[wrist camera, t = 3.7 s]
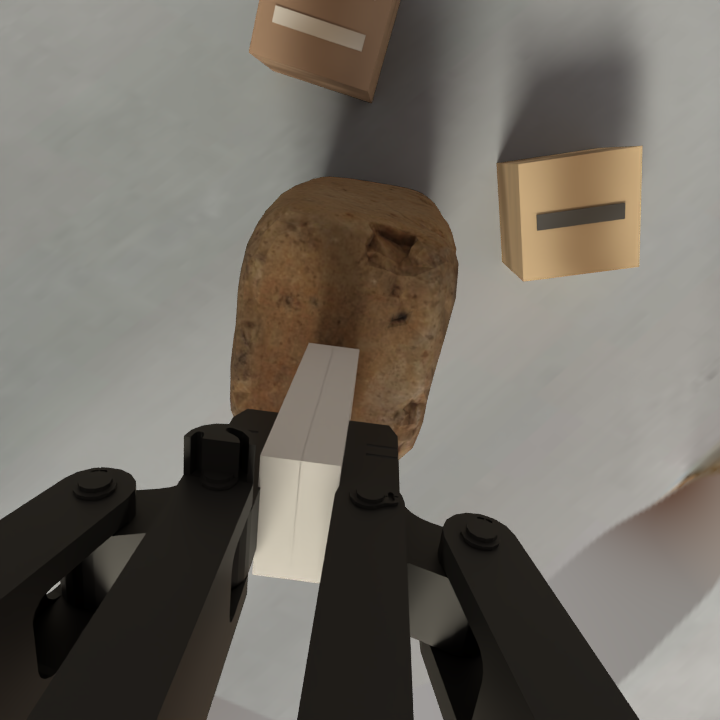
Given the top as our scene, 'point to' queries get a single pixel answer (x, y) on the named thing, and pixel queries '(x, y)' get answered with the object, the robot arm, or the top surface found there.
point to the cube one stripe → (571, 212)
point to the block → (346, 297)
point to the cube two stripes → (326, 41)
